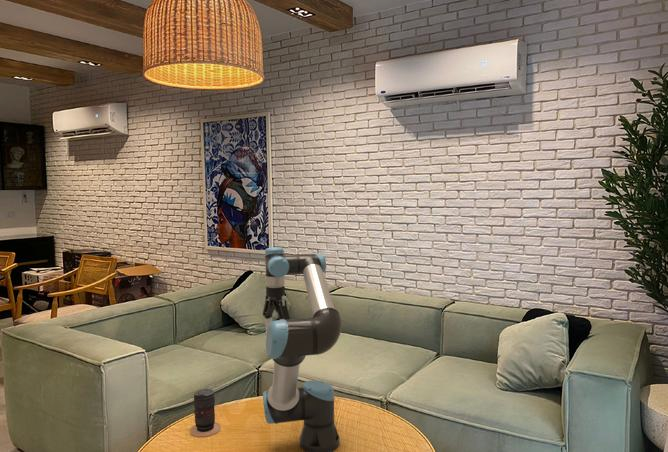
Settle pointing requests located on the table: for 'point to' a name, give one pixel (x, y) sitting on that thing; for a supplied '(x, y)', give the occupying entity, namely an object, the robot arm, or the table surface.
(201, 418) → the camera lens
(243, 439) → the table surface
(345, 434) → the table surface
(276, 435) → the table surface
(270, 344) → the robot arm
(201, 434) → the plate
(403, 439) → the table surface
